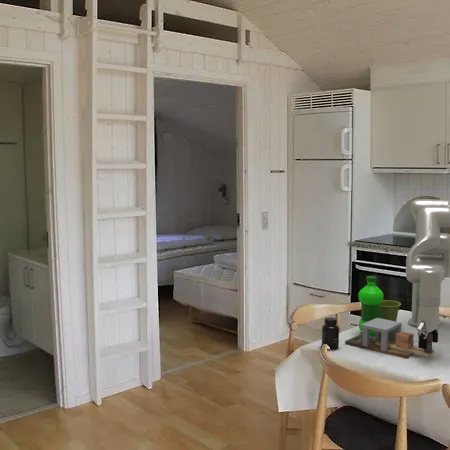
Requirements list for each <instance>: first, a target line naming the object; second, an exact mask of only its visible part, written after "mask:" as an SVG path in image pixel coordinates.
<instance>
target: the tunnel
mask: <svg viewBox="0 0 450 450" xmlns="http://www.w3.org/2000/svg"><path fill="white" fill-rule="evenodd" d="M402 326H403V325H402V322H401V321H397V320H396V321H391V320H386V319H380V318H375V319H373V320H371V321H368V322H366V323H364V324H361V328H363V332H362V335H363V343H362V345H364V346H369V341H370V337H371V336H370V330H375V335H374V338H375V339H378V336H379V333H381V350H385V351H386V350H388V340H390V341H395V342H396V334H397V333H399V332H401V331H402Z"/></svg>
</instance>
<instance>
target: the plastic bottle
mask: <svg viewBox="0 0 450 450" xmlns="http://www.w3.org/2000/svg"><path fill="white" fill-rule="evenodd" d="M365 282H366V283H367V284H366V285H365V286H364V287H362V288H361V289H360V290H359V292H358V301H359V302H360V304H361V305H360V306H361V309H360V320H359V322H358V328H359V330H360V332H362V333H363V328H361V324H364V323H366V322H368V321H371V320H373V319H375V318H380V303H381V302H382V301H383V300H384V295H385V294H384V292H383V291H382V290H381V289H380V288H379V287H378V286H377V285H376V282H377V276H374V275H367V276H366V277H365ZM373 336H375V330H370V337H373Z"/></svg>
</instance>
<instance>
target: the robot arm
mask: <svg viewBox="0 0 450 450" xmlns="http://www.w3.org/2000/svg"><path fill="white" fill-rule="evenodd" d="M410 213H411V216H412V217H413V219H414V222H415V240H414V241H415V243H414V244H413V245H412V246H411V248H410V249H409V251H408V252H407V256H406V259H405V261H406V262H405V265H406V266H405V277H406V280H407V281H408V282H410V283H412V294H411V295H412V296H411V297H412V298H411V303H412V304H411V318H409V319H408V320H407V323H408V325H410V326H412V327H415V328H416V331H417V339H418V343H417V347H419V348H422V349H427V339H426V338H427V335H428V333H432V334H433V341H432V343H436V344H437V343H438V342H439V332H440V331H439V330H440V329H439V327H440V322H441V319H440V306H441V288H442V287H441V284H442V283H443V282H444V281H445V278H449V277H450V233H444V232H441V228H450V200H449V199H428V198H426V199H425V198H424V199H423V198H422V199H418V198H417V199H414V200H413V201H411V203H410ZM424 333H425V335H424Z"/></svg>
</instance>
